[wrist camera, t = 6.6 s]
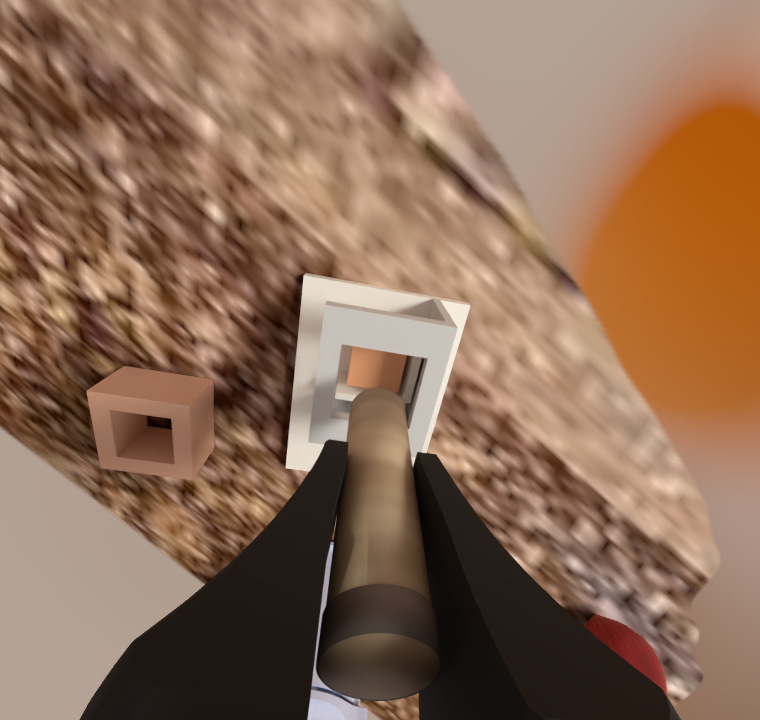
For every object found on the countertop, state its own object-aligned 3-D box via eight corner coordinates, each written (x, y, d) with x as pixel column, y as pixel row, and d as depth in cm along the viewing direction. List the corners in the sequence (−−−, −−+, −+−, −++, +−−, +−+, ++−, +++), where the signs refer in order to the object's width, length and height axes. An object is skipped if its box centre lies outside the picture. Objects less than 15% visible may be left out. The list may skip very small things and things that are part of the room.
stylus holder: (214, 447, 23) (193, 479, 21) (133, 436, 23) (100, 468, 20) (213, 379, 21) (189, 405, 19) (124, 365, 21) (86, 390, 18)
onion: (549, 630, 33) (599, 754, 25) (580, 591, 30) (644, 715, 23) (605, 638, 33) (670, 761, 26) (639, 602, 31) (720, 725, 24)
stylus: (399, 438, 15) (425, 705, 7) (344, 430, 14) (309, 696, 7) (411, 391, 14) (457, 638, 6) (353, 382, 14) (323, 625, 6)
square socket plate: (415, 479, 25) (424, 543, 20) (287, 462, 24) (266, 524, 19) (467, 302, 20) (496, 334, 15) (305, 273, 19) (282, 297, 14)
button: (396, 375, 21) (398, 393, 19) (348, 368, 20) (346, 384, 19) (406, 331, 20) (409, 345, 18) (356, 323, 19) (354, 336, 18)
